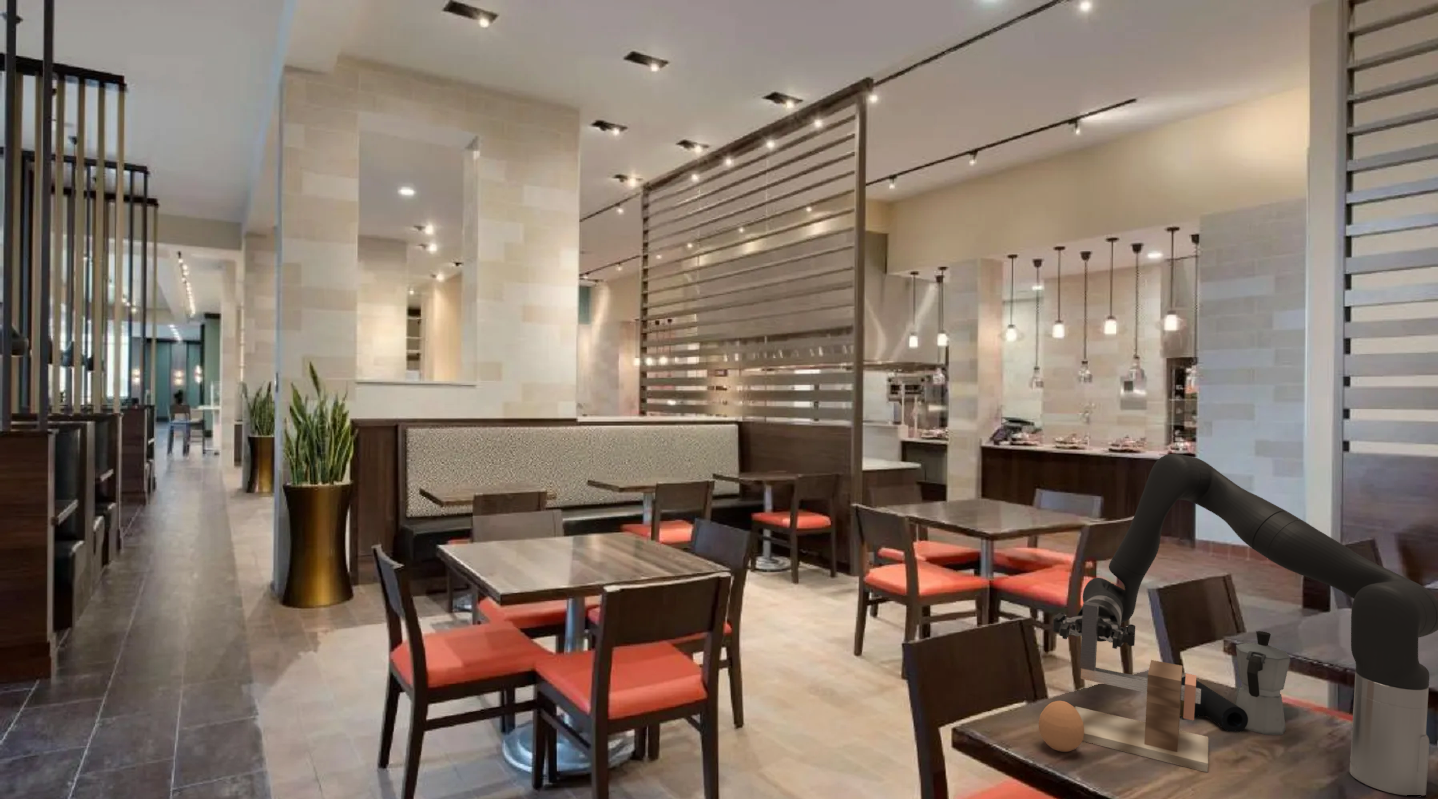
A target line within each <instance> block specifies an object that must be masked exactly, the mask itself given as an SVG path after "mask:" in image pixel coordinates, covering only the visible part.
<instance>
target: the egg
mask: <svg viewBox="0 0 1438 799" xmlns="http://www.w3.org/2000/svg"><path fill="white" fill-rule="evenodd" d="M1038 731H1039V733H1040V736H1041V738H1042V740H1043V741H1044V742H1045V743H1046V745H1047V746H1049V747H1050V748H1051V749H1053V750H1055V751H1058V752H1064V753H1067V752H1071V751H1073V750H1075V749H1077V748H1078V747H1079V746H1080V745H1081V744H1082V742H1084V741H1083V737H1084V725H1083V721H1082V719H1081V716H1080V714H1079V713H1078V711H1077V710H1076V709H1075V707H1074V706H1073V705H1072V704H1070V703H1069V702H1067V701H1064V700H1054V701H1052V702H1050V703H1049V704H1047V705H1046V706H1045V707H1044V709H1043V710H1042V712H1041V713H1040V715H1039V718H1038Z"/></svg>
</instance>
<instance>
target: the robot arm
mask: <svg viewBox="0 0 1438 799" xmlns="http://www.w3.org/2000/svg"><path fill="white" fill-rule="evenodd" d="M1178 500H1181V501H1188V502H1190V503H1193V504H1195V505H1197V506H1199V507H1202V508H1203V509H1206V510H1207V511H1209V512H1211V513H1213V514H1214V515H1216V516H1217V517H1219V518H1220V519H1222V520H1223V521H1224V522H1225V523H1226V524H1227V525H1228V526H1229V527H1230V528H1231V529H1232V531H1233V532H1234V533H1235V534H1236V535H1237V537H1238V538H1239V539H1240V540H1241V541H1243V543H1244V544H1246V546H1247V545H1248V547H1250V549H1252V550H1254V551H1255V552H1257V553H1259V554H1261V555H1262V556H1264V557H1265V558H1266V559H1268V560H1270V561H1271V562H1273V563H1274V564H1276V565H1278V566H1279V567H1281V568H1284V569H1285V570H1288V571H1291V572H1293V573H1295V574H1298V575H1301V576H1304V577H1306V578H1309V579H1311V580H1315V581H1317V582H1318V583H1319V582H1320V583H1322V584H1325V585H1327V586H1329V587H1332V588H1334V589H1337V590H1339V591H1340V592H1342V593H1344V594H1345V595H1347V596H1349V597H1350V598H1352V599H1353V600H1352V605H1351V610H1350V611H1351V612H1350V613H1351V614H1350V650H1351V655H1352V657H1353V660H1354V662H1355V672H1354V673H1355V675H1354V690H1353V692H1354V693H1353V706H1352V708H1353V709H1352V710H1353V711H1352V727H1351V740H1350V741H1351V743H1350V758H1349V773H1350V775H1351V776H1352V777H1353V778H1354V779H1356V780H1357V781H1358V782H1360V783H1362V784H1364V785H1365V786H1369V787H1371V788H1374V789H1377V790H1380V791H1383V792H1386V793H1390V794H1395V795H1400V796H1407V795H1426V796H1427V785H1428V784H1427V782H1428V771H1429V770H1428V767H1429V766H1428V765H1429V752H1430V738H1429V736H1428V735H1427V719H1428V702H1429V686H1430V672H1429V669H1428V668H1427V667H1426V666H1424V665H1423V664H1422V663H1420V660H1419V638H1423V637H1426V636H1429V635H1431V634H1433V633H1435V632H1437V631H1438V598H1437V597H1436V596H1435V595H1434V594H1433V592H1431V591H1430V590H1429V589H1428V588H1426V587H1424V586H1423V585H1421V584H1419V583H1418V582H1415V581H1414V580H1411V579H1409V578H1407V577H1405V576H1403V575H1401V574H1399V573H1396V572H1394V571H1393V570H1389V568H1386V567H1383V566H1381V565H1379V564H1377V563H1375V562H1373V561H1371V560H1369V559H1367V558H1366V557H1364V556H1362V555H1360V554H1358V553H1356V552H1355V551H1353V550H1352V549H1351V548H1348V547H1347V546H1345V545H1344V544H1342V543H1341V542H1339V541H1337V540H1336V539H1334V538H1332V537H1331V536H1329V535H1327V534H1325V533H1324V532H1322V531H1320V530H1319V529H1317V528H1316V527H1314V526H1313V525H1310V524H1309V523H1308V522H1306V521H1305V520H1303V519H1301V518H1299V517H1297V516H1296V515H1294V514H1292V513H1290V512H1289V511H1287V510H1285V509H1284V508H1282V507H1280V506H1277V505H1276V504H1274V503H1272V502H1270V501H1268V500H1267V499H1265V498H1263V497H1260V496H1259V495H1256V494H1254V493H1253V492H1250V491H1248V490H1246V489H1244V488H1243V487H1241V486H1240V485H1238V484H1236V483H1235V482H1233V481H1232V479H1231V480H1230V479H1229V478H1228V477H1227V476H1225V475H1224V474H1223V473H1221V472H1220V471H1218V470H1217V469H1215V468H1214V467H1213V466H1212V465H1210V464H1209V463H1208V462H1206V461H1204V460H1202V459H1200V458H1198V457H1193V456H1189V455H1183V454H1179V453H1170V454H1165V455H1162V456H1161V457H1159V458H1158V459H1157V460H1156V462H1155V463H1154V464H1153V466H1152V467H1151V470H1150V472H1149V474H1148V477H1147V480H1146V482H1145V485H1144V489H1143V492H1142V494H1141V496H1140V499H1139V502H1138V505H1137V508H1136V510H1135V514H1134V515H1133V519H1132V521H1131V522H1130V525H1129V527H1128V529H1127V531H1126V534H1125V535H1124V537H1123V539H1122V540H1121V542H1120V544H1119V546H1118V547H1117V549H1116V551H1115V553H1114V555H1113V557H1111V560H1110V562H1109V565H1108V569H1109V571H1110V572H1111V574H1113V576H1115V577H1116V579H1118V580H1119V581H1120V582H1121V583H1122V584H1123V586H1124V589H1123V588H1122V587H1121V586H1118V585H1116V584H1114V583H1112V582H1111V581H1110V580H1107V579H1105V578H1102V577H1094V578H1092V579H1090V580H1089V581H1088V582H1087V583H1086V585H1085V587H1084V589H1083V591H1082V602H1083V603H1084V602H1085V601H1086V602H1092V603H1098V604H1099V611H1098V631H1097V642H1108V643H1112V649H1114V650H1117V649H1118V648H1121V647H1122V646H1124V644H1125V643H1127V646H1129V647H1135V640H1136V625H1134V624H1128V625H1125V627H1124V626H1123V627H1122V626H1121V625H1122V623H1125V622H1127V621H1129V620H1130V619H1131V618H1132V617H1133V615H1134V612H1135V609H1136V604H1137V599H1138V593H1139V591H1140V588H1141V585H1142V582H1143V580H1144V578H1145V576H1146V575H1147V573H1148V571H1149V569H1150V568H1151V566H1152V564H1153V562H1154V561H1155V559H1156V557H1157V554H1158V552H1159V549H1160V544H1161V536H1162V530H1163V525H1164V522H1165V519H1166V517H1167V515H1168V514H1169V512H1170V511H1171V509H1172V508H1173V506H1174V505H1175V504H1176V502H1177V501H1178ZM1083 603H1082V604H1083ZM1082 615H1083V605H1082V606H1081V607H1080V610H1079V611H1078V613H1077V615H1074V616H1072V617H1068V615H1067V614H1066V613H1065V612H1062V611H1061V612H1058V613H1057V614H1056V615H1055V616H1054V617H1053V621H1052V631H1053V632H1055V633H1059V636H1060V637H1061V638H1062V639H1064V640H1067V639H1068V638H1069V636H1070V635H1071V636H1075V637H1081V636H1082Z"/></svg>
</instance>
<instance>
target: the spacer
mask: <svg viewBox="0 0 1438 799" xmlns="http://www.w3.org/2000/svg"><path fill="white" fill-rule="evenodd" d="M1185 677H1186V678H1185V694H1184V713H1183V716H1182V718H1183V719H1185V720H1190V721H1195V716H1194V712H1195V693H1196V680H1197V675H1196V674H1191V673H1188V672H1187V673H1185Z"/></svg>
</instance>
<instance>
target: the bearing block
mask: <svg viewBox="0 0 1438 799" xmlns="http://www.w3.org/2000/svg"><path fill="white" fill-rule="evenodd" d="M1182 677H1183V665H1181V664H1180V665H1179V664H1174V663H1169V662H1165V661H1159V660H1154V659H1153V660H1152V659H1151V660H1150V662H1149V667H1148V672H1147V678H1148V682H1147V693H1146V706H1145V707H1146V708H1145V721H1140V720H1137V719H1132V718H1127V717H1124V716H1118V715H1115V714H1111V713H1110V714H1109V713H1106V712H1102V711H1097V710H1094V709H1093V710H1092V709H1089V708H1085V707H1080V706H1075V707H1074V708H1075V709H1076V710H1077V711H1078V713H1079V714H1080V716H1081V719H1082V721H1083V725H1084V737H1083V741H1082V742H1084V741H1085V743H1089V744H1092V743H1093V744H1092V745H1097V746H1101V747H1104V748H1108V749H1112V750H1116V751H1120V752H1125V753H1128V754H1132V755H1137V756H1141V757H1144V758H1149V759H1152V760H1156V761H1160V762H1164V763H1168V764H1172V765H1176V766H1177V765H1178V766H1179V767H1180V766H1181V767H1185V768H1189V769H1193V770H1197V771H1201V772H1204V773H1208V771H1209V736H1207V735H1201V734H1197V733H1193V732H1190V731H1185V730H1180V722H1181V719H1180V718H1181V716H1180V704H1181V700H1180V695H1181V685H1182Z"/></svg>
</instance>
